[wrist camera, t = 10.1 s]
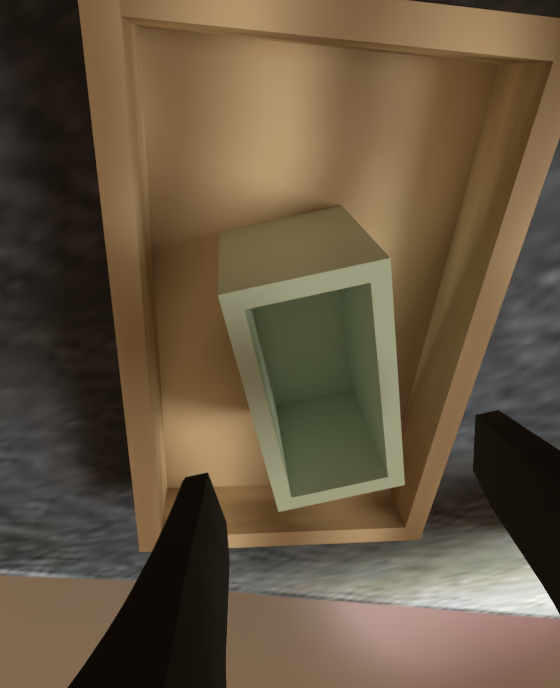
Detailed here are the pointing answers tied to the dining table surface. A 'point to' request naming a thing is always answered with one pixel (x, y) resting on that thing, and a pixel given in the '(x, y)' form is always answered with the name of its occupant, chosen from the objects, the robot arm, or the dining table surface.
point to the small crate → (315, 353)
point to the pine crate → (302, 197)
